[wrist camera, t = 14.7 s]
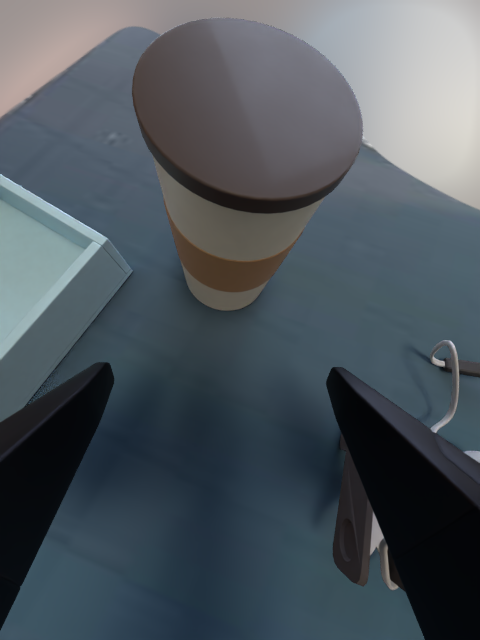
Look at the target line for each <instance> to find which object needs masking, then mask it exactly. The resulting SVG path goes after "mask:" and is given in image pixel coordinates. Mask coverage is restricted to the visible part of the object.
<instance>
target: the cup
mask: <svg viewBox="0 0 480 640" xmlns="http://www.w3.org/2000/svg"><path fill="white" fill-rule="evenodd" d="M132 96H133V105H134V109H135V112H136V116H137V119H138V123H139V126H140V129H141V133H142V136H143V138H144V140H145V142H146V144H147V147H148V149H149V150H150V152H151V153H152V155H153V159H154V162H155V166H156V170H157V174H158V177H159V181H160V185H161V189H162V192H163V197H164V204H165V208H166V212H167V215H168V219H169V223H170V226H171V230H172V234H173V237H174V241H175V245H176V248H177V252H178V255H179V258H180V260H181V264H182V267H183V271H184V275H185V279H186V282H187V285H188V287H189V289H190V291H191V292H192V294H193V295H194V296H195V297H196V298H197V299H198V300H199V301H200V302H202V303H203V304H204V305H206V306H208V307H211V308H213V309H217V310H223V311H232V310H237V309H241V308H243V307H245V306H247V305H249V304H250V303H252V302H253V301H254V300H255V299H256V298H257V297H258V296H259V294H260V293H261V291H262V290H263V288H264V287H265V285H266V284H267V282H268V281H269V279H270V278H271V277H272V276H273V275H274V273H275V272H276V270H277V269H278V267H279V266H280V265H281V263H282V262H283V260H284V259H285V257H286V256H287V254H288V253H289V251H290V250H291V248H292V247H293V246H294V244H295V243H296V241H297V240H298V238H299V237H300V235H301V234H302V232H303V230H304V228H305V226H306V225H307V223H308V222H309V220H310V219H311V217H312V216H313V214H314V213H315V211H316V210H317V208H318V207H319V205H320V204H321V202H322V201H323V199H324V198H325V196H326V195H328V194H329V193H331V192H332V191H333V190H334V189H335V188H336V187H337V186H338V185H339V183H340V182H341V181H342V179H343V178H344V176H345V175H346V173H347V172H348V171H349V169H350V168H351V166H352V165H353V163H354V162H355V160H356V157H357V155H358V153H359V150H360V146H361V142H362V135H363V123H362V115H361V111H360V107H359V104H358V101H357V99H356V96H355V94H354V92H353V91H352V89H351V87H350V85H349V83H348V82H347V81H346V79H345V78H344V76H343V75H342V74H341V73H340V71H339V70H338V69H337V68H336V67H335V66H334V65H333V64H332V63H331V62H330V61H329V60H328V59H327V58H326V57H325V56H324V55H322V54H321V53H320V52H319V51H318V50H316V49H315V48H313V47H312V46H310V45H309V44H308V43H306V42H304V41H303V40H301V39H299V38H297V37H295V36H294V35H292V34H289V33H287V32H285V31H283V30H281V29H277V28H275V27H272V26H269V25H266V24H262V23H258V22H255V21H249V20H244V19H234V18H210V19H202V20H197V21H192V22H188V23H185V24H182V25H179V26H177V27H175V28H173V29H171V30H169V31H167V32H165V33H164V34H162V35H161V36H159V37H158V38H156V39H155V40H154V41H153V42H152V43H151V44H150V45H149V46H148V47H147V49H146V50H145V51H144V53H143V54H142V56H141V57H140V59H139V62H138V64H137V66H136V69H135V73H134V77H133V86H132Z"/></svg>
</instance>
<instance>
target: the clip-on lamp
mask: <svg viewBox="0 0 480 640" xmlns="http://www.w3.org/2000/svg"><path fill="white" fill-rule="evenodd" d="M444 345H447V346H448V347H449V349H450V353H451V358H445V359H444V360H443V361H440V360H437V359H435V358H434V354H435V352H436V351H437V350H438V349H439V348H441V347H442V346H444ZM430 359H431V362H432V363H433V364H435V365H437V366H441V367H444V370H445V371H447V372H452V396H451V402H450V407H449V410H448V412H447V414H446V415H445V417H444V418H443V419H442V420H441V421H440V422H438V423H437V424H435V425H434V426H433V427H431V428H430V429H431V430H432V432H435V433H437V431H438V429H440V428H441V427H442V426H444V425H445V424H447V423H448V422H449V421H450V420H451V419H452V417H453V415H454V413H455V411H456V407H457V402H458V393H459V374H464V375H470V376H475V377H480V363H477V362H470V361H464V360H458V357H457V352H456V349H455V346H454V344H453V343H452V342H451V341H448V340H443V341H441V342H440V343H438V344H437V345H436V346H435V347H434V348H433V349H432V351H431V354H430ZM340 449H341V450H344V451H346V455H345V462H344V470H343V477H342V484H341V491H340V499H339V506H338V513H337V520H336V528H335V535H334V542H333V558H334V562H335V564H336V566H337V568H338V569H339V570H340V571H341V572H342V573H343V574H345V575H346V576H347V577H348V578H349V579H350V580H351V581H352V582H353V583H356V584H358V585H361V586H364V585H365V584H366V583H367V580H368V575H369V561H370V555H371V554H372V552H373V551H374V550H375V548H377V550H378V552H379V554H380V566H381V575H382V579H383V581H384V582H385V583H386V585H387V586H388V587H389V588H390V589H391V590H395V589H397V588H398V587H400V588H401V589H403V590H404V591H405V589H404V586H403V584H402V582H401V579H400V577H399V574H398V572H397V569H396V567H395V564H394V560H393V559H392V556H391V554H390V551H389V549H388V546H387V544H386V542H385V539H384V537H383V534H382V532H381V529H380V527H379V524H378V522H377V519H376V517H375V514H374V512H373V509H372V507H371V504H370V502H369V499H368V497H367V495H366V492H365V490H364V487H363V485H362V482H361V480H360V477H359V475H358V472H357V470H356V467H355V465H354V462H353V460H352V457H351V455H350V453H349V450H348V448H347V445H346V443H345V440H344V438H343V435H342V433H341V439H340ZM464 453H465V454H467V455H469V456H470V457H472V458H473V459H475V460H476V461H478V462H479V463H480V452H478V451H466V452H464ZM405 592H406V591H405Z"/></svg>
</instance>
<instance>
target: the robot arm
mask: <svg viewBox="0 0 480 640" xmlns="http://www.w3.org/2000/svg"><path fill="white" fill-rule="evenodd" d="M113 384H114V376H113V372H112V369H111V366H110V364H109V363H107V362H98V363H95V364H93V365H92V366H90V367H89V368H87V369H85V370H84V371H82V372H80V373H79V374H77V375H76V376H74V377H72V378H71V379H69V380H68V381H66V382H64V383H63V384H61V385H59V386H58V387H56V388H55V389H53V390H51V391H50V392H48V393H47V394H45V395H43V396H42V397H40V398H38V399H37V400H35V401H34V402H32V403H30V404H29V405H27V406H26V407H24V408H22V409H21V410H19V411H17V412H16V413H14V414H13V415H11V416H9V417H8V418H6V419H5V420H3V421H1V422H0V630H1V628H2V626H3V624H4V622H5V620H6V618H7V615H8V613H9V611H10V609H11V607H12V605H13V603H14V601H15V599H16V597H17V595H18V592H19V590H20V586H21V585H22V584H23V582H24V579H25V577H26V575H27V573H28V571H29V569H30V567H31V565H32V563H33V561H34V559H35V557H36V554H37V552H38V550H39V548H40V546H41V544H42V542H43V540H44V538H45V536H46V534H47V532H48V529H49V527H50V525H51V523H52V521H53V519H54V517H55V515H56V513H57V511H58V509H59V506H60V504H61V502H62V500H63V498H64V496H65V494H66V492H67V490H68V488H69V486H70V484H71V481H72V479H73V477H74V475H75V473H76V471H77V469H78V467H79V465H80V463H81V461H82V459H83V456H84V454H85V452H86V450H87V448H88V446H89V444H90V442H91V440H92V438H93V436H94V433H95V431H96V429H97V427H98V425H99V423H100V420H101V418H102V415H103V412H104V410H105V407H106V404H107V401H108V398H109V395H110V393H111V390H112V387H113ZM326 386H327V389H328V393H329V396H330V400H331V403H332V407H333V410H334V414H335V417H336V420H337V423H338V425H339V428H340V430H341V433H342V435H343V438H344V440H345V443H346V445H347V448H348V450H349V453H350V455H351V457H352V460H353V462H354V465H355V467H356V470H357V472H358V475H359V477H360V480H361V482H362V485H363V487H364V490H365V492H366V495H367V497H368V499H369V502H370V504H371V507H372V509H373V512H374V514H375V517H376V519H377V522H378V524H379V527H380V529H381V532H382V534H383V537H384V539H385V542H386V544H387V546H388V549H389V551H390V554H391V556H392V559H393V560H394V564H395V567H396V569H397V572H398V574H399V577H400V579H401V582H402V584H403V586H404V589H405V591H406V594H407V596H408V599H409V601H410V604H411V606H412V609H413V611H414V614H415V616H416V619H417V621H418V624H419V626H420V628H421V631H422V633H423V636H424V638H425V640H480V463H479V462H478V461H476V460H475V459H473V458H472V457H470V456H469V455H467V454H465V453H464V452H463V451H461V450H460V449H458V448H457V447H455V446H454V445H452V444H451V443H449V442H448V441H446V440H445V439H444V438H442V437H441V436H439V435H438V434H437V433H435V432H432V430H431V429H429V428H428V427H427V426H425V425H424V424H422V423H421V422H420V421H418V420H417V419H415V418H414V417H412V416H411V415H410V414H408V413H407V412H405V411H404V410H402V409H401V408H400V407H398V406H397V405H395V404H394V403H393V402H391V401H390V400H388V399H387V398H385V397H384V396H383V395H381V394H380V393H378V392H377V391H376V390H374V389H373V388H371V387H370V386H368V385H367V384H366V383H364V382H363V381H361V380H360V379H359V378H357V377H356V376H354V375H353V374H351V373H350V372H349V371H347V370H346V369H344V368H342V367H333V368H332V369H331V371H330V373H329V376H328V378H327V381H326Z"/></svg>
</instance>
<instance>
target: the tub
mask: <svg viewBox="0 0 480 640" xmlns="http://www.w3.org/2000/svg"><path fill="white" fill-rule="evenodd" d="M132 272H133V270H132V269H131V268H130V266H129V265H128V264H127V263H126V261H125V260H124V259H123V257H122V256H121V255H120V254H119V252H118V251H117V250H116V248H115V247H114V246H113V245H112V243H111V242H110V241H109V240H108V238H106V237H104V236H103V235H101V234H99V233H98V232H96V231H94V230H93V229H91V228H89V227H88V226H86V225H84V224H83V223H81V222H79V221H78V220H76V219H74V218H73V217H71V216H69V215H68V214H66V213H64V212H63V211H61V210H59V209H58V208H56V207H54V206H53V205H51V204H49V203H48V202H46V201H44V200H43V199H41V198H39V197H37V196H36V195H34V194H32V193H31V192H29V191H27V190H26V189H24V188H22V187H21V186H19V185H17V184H16V183H14V182H12V181H11V180H9V179H7V178H6V177H4V176H2V175H1V174H0V422H1V421H3V420H5V419H6V418H8V417H9V416H11V415H13V414H14V413H16V412H17V411H19V410H21V409H22V408H24V406H25V405H26V404H27V403H28V401H29V400H30V399H31V398H32V396H33V395H34V394H35V393H36V391H37V390H38V389H39V388H40V386H41V385H42V384H43V383H44V381H45V380H46V379H47V378H48V377H49V375H50V374H51V373H52V372H53V370H54V369H55V368H56V367H57V365H58V364H59V363H60V362H61V360H62V359H63V358H64V357H65V355H66V354H67V353H68V352H69V350H70V349H71V348H72V347H73V345H74V344H75V343H76V342H77V340H78V339H79V338H80V337H81V335H82V334H83V333H84V332H85V330H86V329H87V328H88V327H89V325H90V324H91V323H92V322H93V320H94V319H95V318H96V317H97V315H98V314H99V313H100V312H101V310H102V309H103V308H104V307H105V305H106V304H107V303H108V302H109V301H110V299H111V298H112V297H113V296H114V294H115V293H116V292H117V291H118V289H119V288H120V287H121V286H122V284H123V283H124V282H125V281H126V279H127V278H128V277H129V276H130V274H131V273H132Z"/></svg>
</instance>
